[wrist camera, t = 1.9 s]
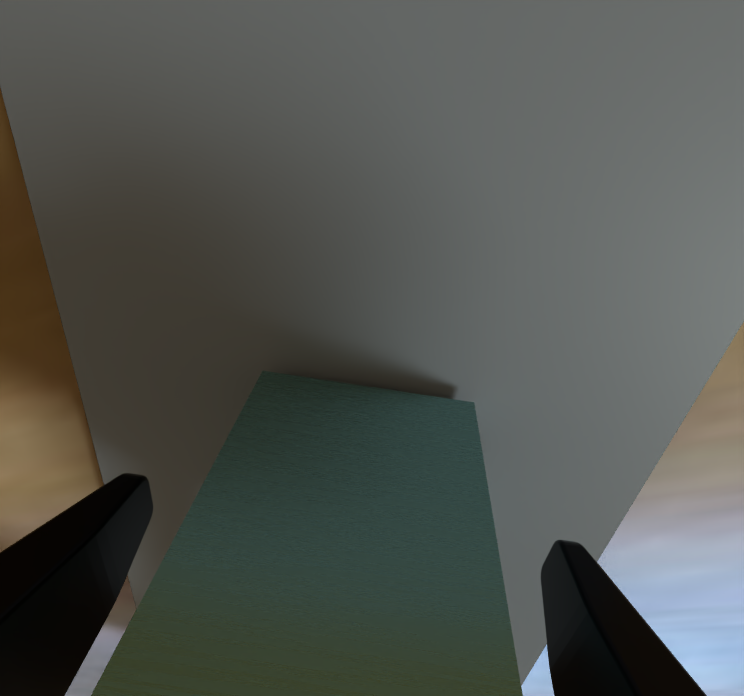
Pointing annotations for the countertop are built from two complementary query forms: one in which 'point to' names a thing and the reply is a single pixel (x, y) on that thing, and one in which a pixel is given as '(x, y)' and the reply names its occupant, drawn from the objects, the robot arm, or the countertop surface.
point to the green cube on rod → (330, 558)
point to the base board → (391, 230)
